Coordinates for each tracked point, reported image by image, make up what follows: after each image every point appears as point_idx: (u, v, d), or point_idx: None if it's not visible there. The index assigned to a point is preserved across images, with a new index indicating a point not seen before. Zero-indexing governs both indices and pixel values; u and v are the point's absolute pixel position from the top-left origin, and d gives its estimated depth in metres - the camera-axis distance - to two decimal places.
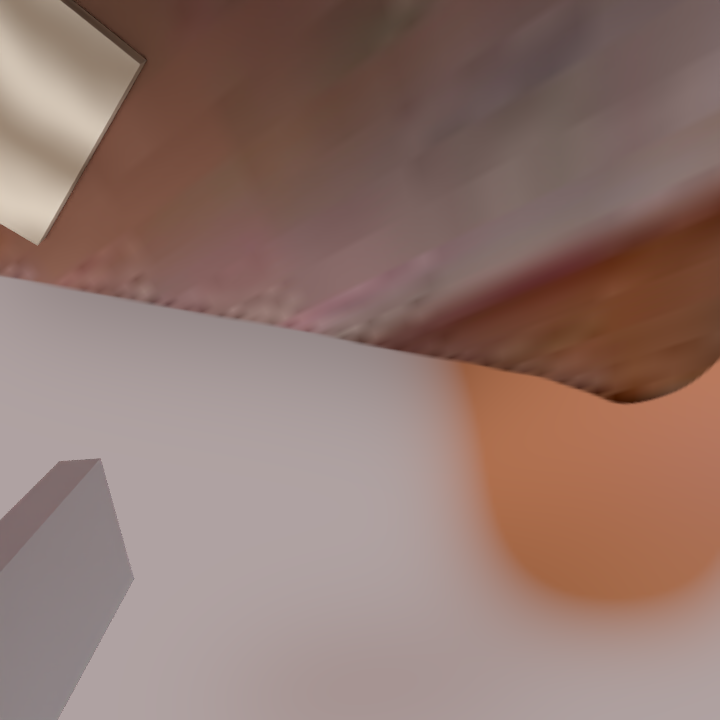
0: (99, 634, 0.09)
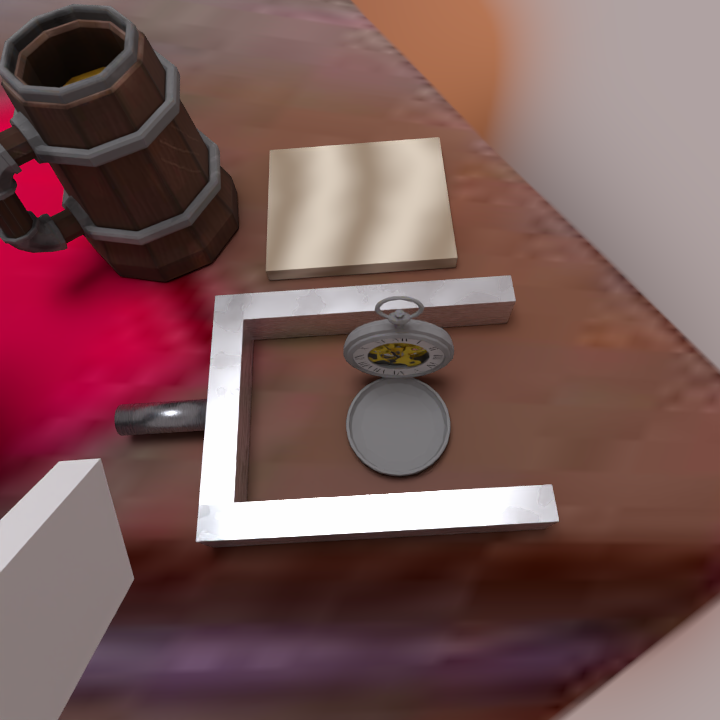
0: (99, 634, 0.09)
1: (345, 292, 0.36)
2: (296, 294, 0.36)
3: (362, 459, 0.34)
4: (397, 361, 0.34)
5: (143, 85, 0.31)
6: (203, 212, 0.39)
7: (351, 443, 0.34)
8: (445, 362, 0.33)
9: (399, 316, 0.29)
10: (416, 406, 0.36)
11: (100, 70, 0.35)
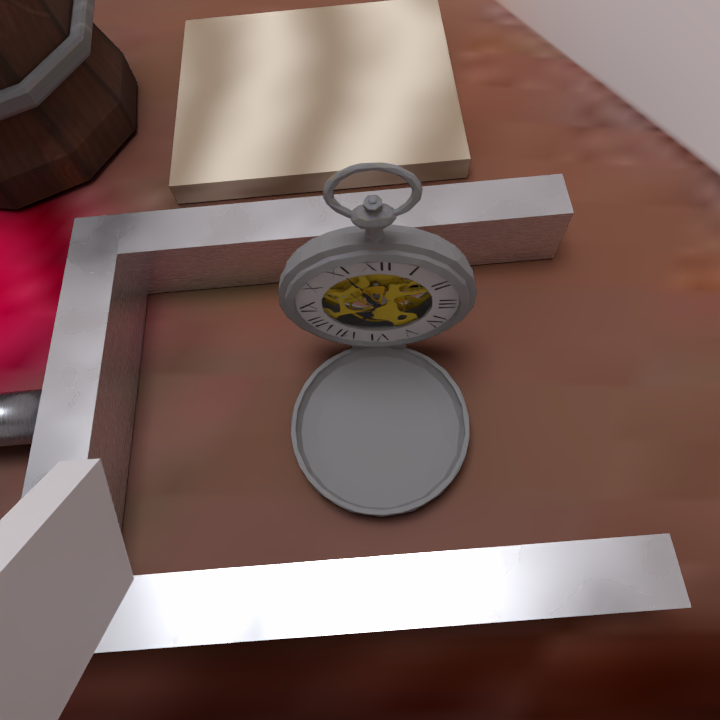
0: (99, 634, 0.09)
1: (289, 207, 0.22)
2: (208, 212, 0.22)
3: (317, 488, 0.19)
4: (376, 315, 0.19)
5: None
6: (64, 91, 0.24)
7: (299, 460, 0.20)
8: (460, 314, 0.19)
9: (373, 209, 0.14)
10: (410, 394, 0.21)
11: None
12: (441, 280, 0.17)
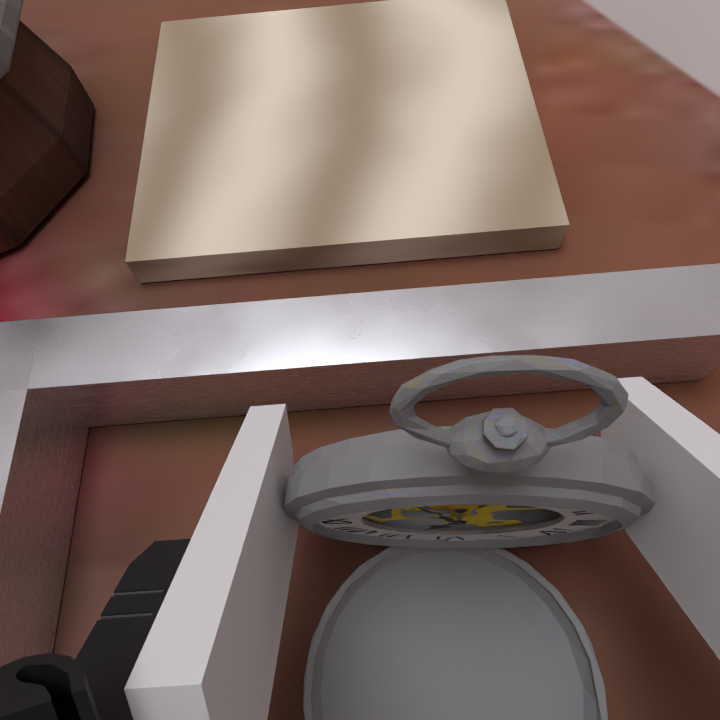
0: (293, 551, 0.11)
1: (302, 312, 0.14)
2: (174, 319, 0.14)
3: None
4: None
5: None
6: None
7: None
8: None
9: (507, 446, 0.06)
10: (497, 620, 0.13)
11: None
12: None
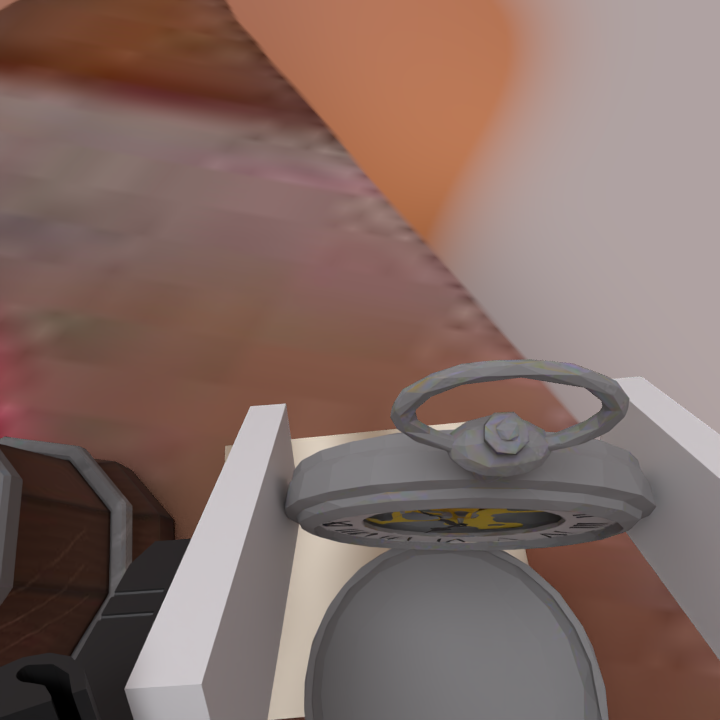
0: (293, 550, 0.11)
1: None
2: None
3: None
4: None
5: None
6: None
7: None
8: (607, 536, 0.10)
9: (508, 450, 0.06)
10: (497, 623, 0.13)
11: None
12: None
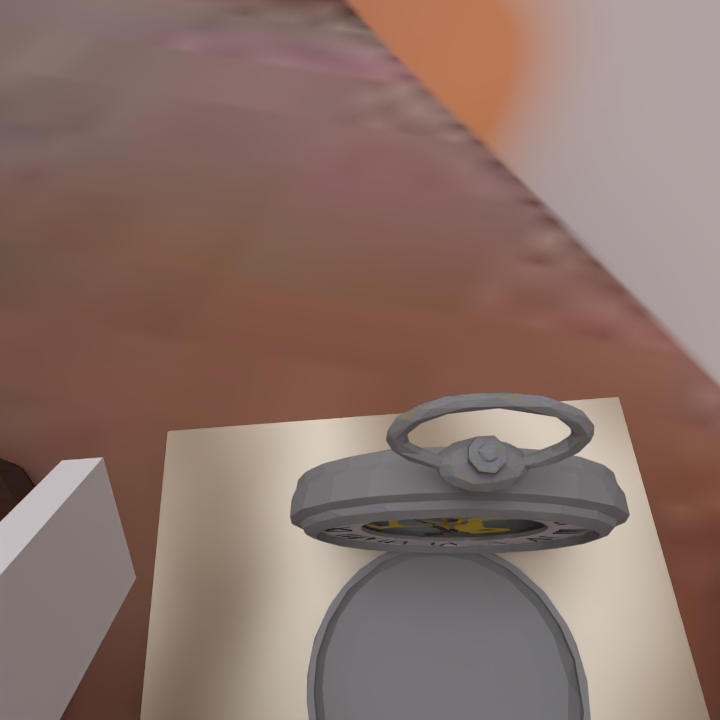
0: (102, 632, 0.09)
1: None
2: None
3: None
4: None
5: None
6: None
7: None
8: (588, 541, 0.11)
9: (489, 470, 0.07)
10: (488, 621, 0.14)
11: None
12: None
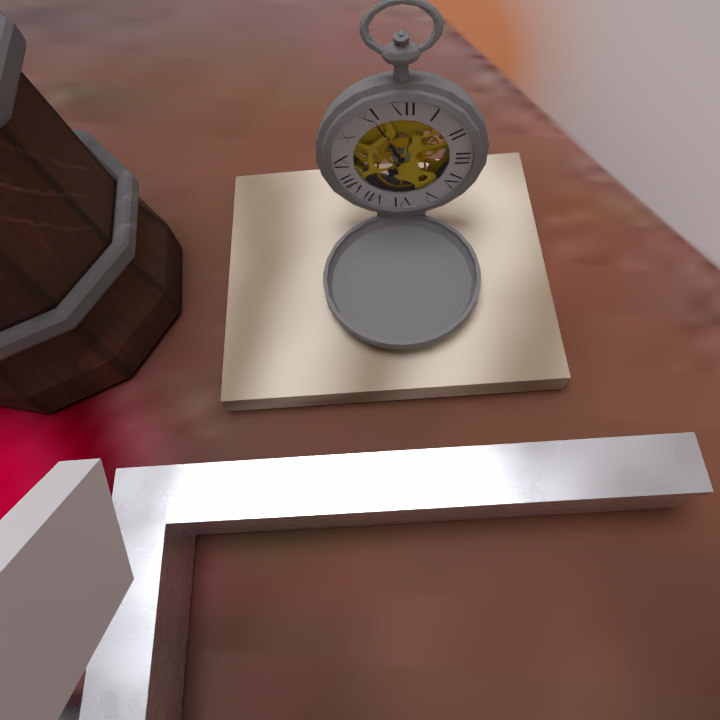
0: (99, 634, 0.09)
1: (366, 465, 0.19)
2: (271, 468, 0.19)
3: (346, 324, 0.22)
4: (400, 175, 0.22)
5: None
6: (104, 298, 0.21)
7: (330, 303, 0.22)
8: (474, 169, 0.21)
9: (401, 41, 0.17)
10: (429, 256, 0.24)
11: None
12: (458, 128, 0.20)
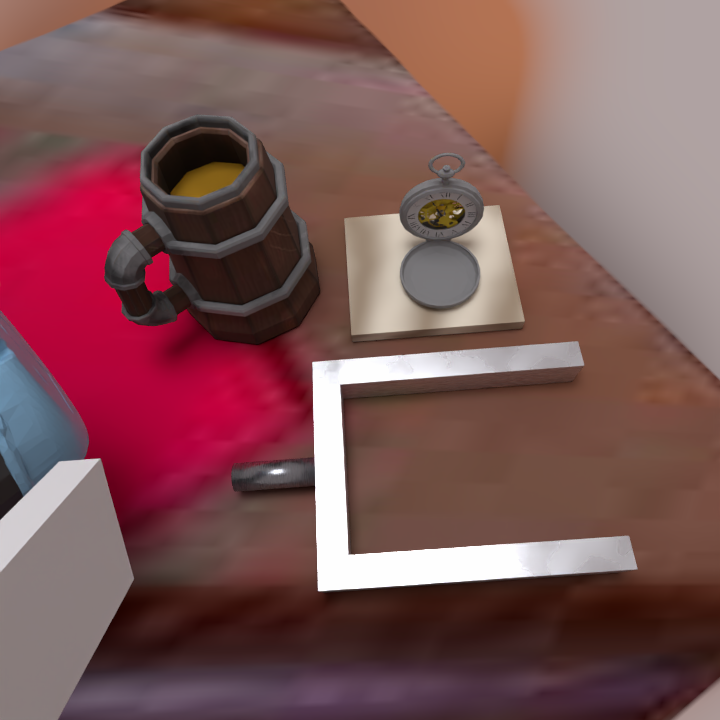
0: (99, 634, 0.09)
1: (430, 358, 0.41)
2: (385, 360, 0.41)
3: (413, 296, 0.44)
4: (439, 222, 0.44)
5: (263, 188, 0.35)
6: (295, 283, 0.43)
7: (404, 286, 0.44)
8: (477, 219, 0.43)
9: (446, 170, 0.39)
10: (453, 262, 0.46)
11: (212, 165, 0.39)
12: (469, 202, 0.42)
